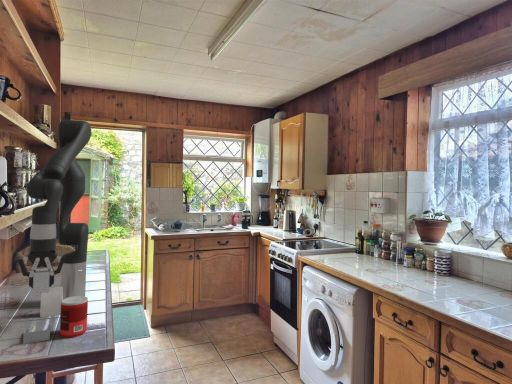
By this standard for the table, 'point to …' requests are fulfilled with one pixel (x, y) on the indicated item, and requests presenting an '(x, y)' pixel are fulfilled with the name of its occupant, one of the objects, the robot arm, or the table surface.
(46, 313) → the tea bag
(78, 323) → the canned food
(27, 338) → the rail channel
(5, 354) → the table surface
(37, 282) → the block
